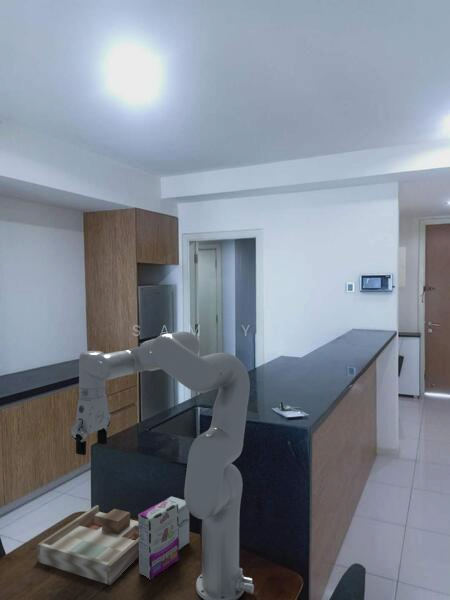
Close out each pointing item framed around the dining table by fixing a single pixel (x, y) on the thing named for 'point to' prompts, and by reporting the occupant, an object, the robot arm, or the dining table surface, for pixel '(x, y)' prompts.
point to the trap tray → (91, 548)
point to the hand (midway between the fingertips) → (91, 448)
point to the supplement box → (182, 521)
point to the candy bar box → (158, 538)
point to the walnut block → (116, 521)
